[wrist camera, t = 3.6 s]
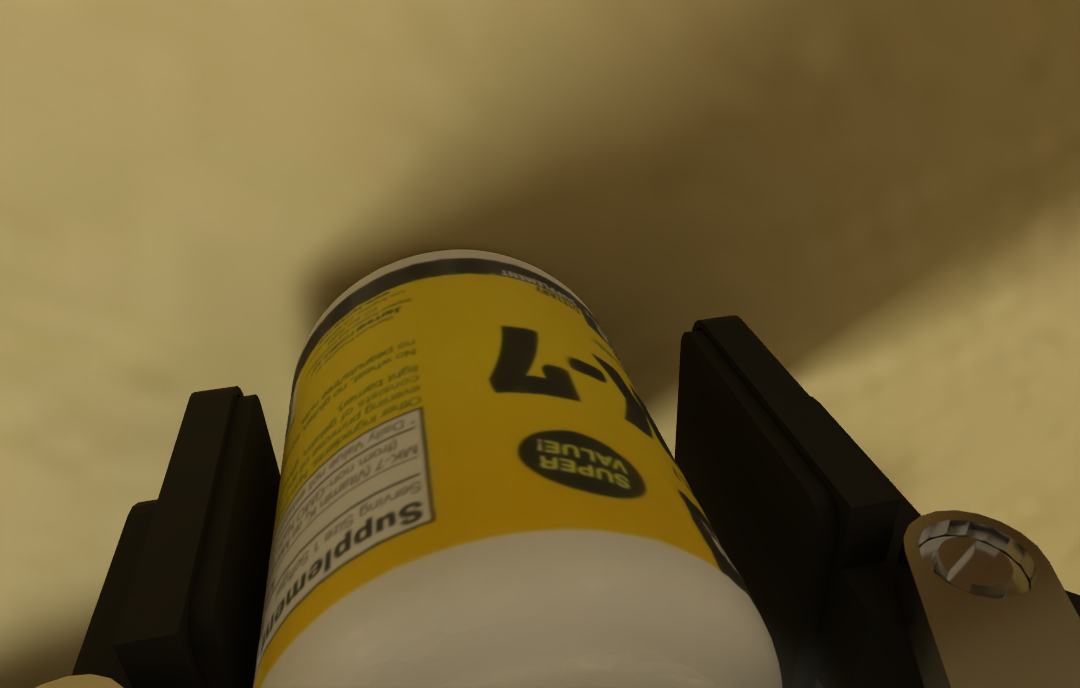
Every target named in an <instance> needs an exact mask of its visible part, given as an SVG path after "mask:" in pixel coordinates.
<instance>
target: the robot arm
mask: <svg viewBox="0 0 1080 688" xmlns="http://www.w3.org/2000/svg"><path fill="white" fill-rule="evenodd" d="M675 462H676V463H677V465H678V467H679V469H680V471H681V472H682V474H683V476H684V477H685V479H686V481H687V483H688V485H689V487H690V489H691V491H692V493H693V495H694V496H695V498H696V499H697V501H698V503H699V505H700V507H701V508H702V510H703V512H704V514H705V516H706V517H707V519H708V521H709V523H710V524H711V526H712V528H713V530H714V532H715V534H716V536H717V538H718V540H719V542H720V544H721V546H722V547H723V549H724V551H725V552H726V554H727V556H728V557H729V559H730V561H731V563H732V564H733V566H734V567H735V569H736V570H737V571H738V573H739V574H740V576H741V577H742V579H743V581H744V583H745V585H746V587H747V589H748V591H749V593H750V595H751V597H752V599H753V601H754V603H755V605H756V607H757V609H758V611H759V613H760V615H761V617H762V620H763V622H764V624H765V626H766V628H767V630H768V632H769V634H770V636H771V639H772V642H773V645H774V648H775V652H776V655H777V658H778V662H779V667H780V672H781V679H782V688H1080V595H1077V594H1074V593H1071V592H1069V591H1066V590H1064V588H1063V586H1062V584H1061V582H1060V580H1059V579H1058V577H1057V575H1056V573H1055V571H1054V569H1053V568H1052V566H1051V564H1050V562H1049V561H1048V559H1047V558H1046V557H1045V555H1044V554H1043V553H1042V551H1041V550H1040V549H1039V547H1038V546H1037V545H1035V544H1034V543H1033V542H1032V541H1031V540H1029V539H1028V538H1027V537H1026V536H1024V535H1023V534H1022V533H1021V532H1019V531H1017V530H1015V529H1013V528H1012V527H1010V526H1008V525H1006V524H1004V523H1002V522H1000V521H998V520H995V519H992V518H989V517H986V516H983V515H980V514H976V513H970V512H963V511H957V510H953V511H935V512H932V513H929V514H926V515H922V516H921V515H920V514H919V513H918V512H917V511H916V509H915V508H914V507H913V506H912V505H911V504H910V503H909V502H908V501H907V499H906V498H905V497H904V496H903V495H902V494H901V493H900V492H899V491H898V489H897V488H896V487H895V486H894V485H893V484H892V483H891V482H890V481H889V479H888V478H887V477H886V476H885V475H884V474H883V473H882V472H881V470H880V469H879V468H878V467H877V466H876V465H875V464H874V463H873V462H872V460H871V459H870V458H869V457H868V456H867V455H866V454H865V453H864V452H863V450H862V449H861V448H860V447H859V446H858V445H857V444H856V443H855V442H854V440H853V439H852V438H851V437H850V436H849V435H848V434H847V433H846V432H845V430H844V429H843V428H842V427H841V426H840V425H839V424H838V423H837V422H836V420H835V419H834V418H833V417H832V416H831V415H830V414H829V413H828V412H827V410H826V409H825V408H824V407H823V406H822V405H821V404H820V403H819V402H818V401H817V400H816V399H814V398H813V397H811V396H809V395H808V394H807V393H806V391H805V390H804V389H803V388H802V387H801V386H800V385H799V384H798V382H797V381H796V380H795V379H794V378H793V377H792V376H791V375H790V374H789V372H788V371H787V370H786V369H785V368H784V367H783V366H782V365H781V363H780V362H779V361H778V360H777V359H776V358H775V357H774V356H773V354H772V353H771V352H770V351H769V350H768V349H767V348H766V347H765V345H764V344H763V343H762V342H761V341H760V340H759V339H758V338H757V336H756V335H755V334H754V333H753V332H752V331H751V330H750V329H749V328H748V326H747V325H746V324H745V323H744V322H743V321H742V320H741V319H740V318H739V317H738V316H736V315H732V316H725V317H718V318H711V319H704V320H697V321H696V322H695V323H694V326H693V329H692V331H691V332H685V333H684V334H683V336H682V339H681V351H680V369H679V388H678V407H677V426H676V445H675ZM279 485H280V473H279V469H278V466H277V462H276V458H275V454H274V451H273V447H272V443H271V440H270V436H269V432H268V429H267V425H266V421H265V418H264V414H263V410H262V407H261V403H260V400H259V398H258V396H257V395H249V396H244V395H243V393H242V391H241V389H240V388H239V387H238V386H235V387H228V388H221V389H214V390H207V391H199V392H194V393H192V394H191V396H190V398H189V402H188V405H187V408H186V411H185V414H184V418H183V421H182V424H181V427H180V430H179V434H178V437H177V440H176V443H175V446H174V450H173V453H172V456H171V459H170V462H169V465H168V469H167V472H166V475H165V478H164V481H163V485H162V488H161V491H160V494H159V497H158V499H157V500H151V501H145V502H139V503H137V504H136V505H134V506H133V507H132V509H131V511H130V513H129V514H128V517H127V520H126V522H125V525H124V528H123V531H122V534H121V537H120V539H119V542H118V545H117V548H116V551H115V554H114V556H113V559H112V562H111V565H110V568H109V571H108V573H107V576H106V579H105V582H104V585H103V588H102V590H101V593H100V596H99V599H98V602H97V605H96V608H95V610H94V613H93V616H92V619H91V622H90V625H89V627H88V630H87V633H86V636H85V639H84V642H83V644H82V647H81V650H80V653H79V656H78V659H77V661H76V664H75V667H74V670H73V673H72V676H66V677H63V678H60V679H57V680H54V681H51V682H48V683H44V684H41V685H39V686H38V687H36V688H253V684H254V676H255V668H256V661H257V653H258V646H259V639H260V632H261V624H262V616H263V609H264V601H265V593H266V585H267V577H268V569H269V561H270V554H271V547H272V538H273V531H274V524H275V517H276V508H277V499H278V491H279Z"/></svg>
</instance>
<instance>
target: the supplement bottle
mask: <svg viewBox="0 0 1080 688" xmlns="http://www.w3.org/2000/svg"><path fill="white" fill-rule="evenodd" d="M253 688H782V679H781V672H780V667H779V662H778V658H777V655H776V652H775V648H774V645H773V642H772V639H771V636H770V634H769V632H768V630H767V628H766V626H765V624H764V622H763V620H762V617H761V615H760V613H759V611H758V609H757V607H756V605H755V603H754V601H753V599H752V597H751V595H750V593H749V591H748V589H747V587H746V585H745V583H744V581H743V579H742V577H741V576H740V574H739V573H738V571H737V570H736V569H735V567H734V566H733V564H732V563H731V561H730V559H729V557H728V556H727V554H726V552H725V551H724V549H723V547H722V546H721V544H720V542H719V540H718V538H717V536H716V534H715V532H714V530H713V528H712V526H711V524H710V523H709V521H708V519H707V517H706V516H705V514H704V512H703V510H702V508H701V507H700V505H699V503H698V501H697V499H696V498H695V496H694V495H693V493H692V491H691V489H690V487H689V485H688V483H687V481H686V479H685V477H684V476H683V474H682V472H681V471H680V469H679V467H678V465H677V463H676V462H675V460H674V458H673V456H672V454H671V452H670V450H669V449H668V447H667V445H666V443H665V441H664V440H663V438H662V436H661V434H660V432H659V431H658V429H657V427H656V425H655V423H654V422H653V420H652V418H651V417H650V415H649V413H648V411H647V409H646V407H645V405H644V404H643V402H642V401H641V399H640V398H639V396H638V394H637V392H636V390H635V388H634V386H633V384H632V382H631V381H630V379H629V377H628V376H627V374H626V373H625V371H624V369H623V367H622V365H621V364H620V361H619V359H618V357H617V355H616V353H615V352H614V350H613V348H612V346H611V345H610V343H609V341H608V339H607V337H606V336H605V334H604V332H603V330H602V329H601V327H600V325H599V323H598V322H597V320H596V319H595V318H594V316H593V315H592V313H591V312H590V311H589V309H588V308H587V307H586V305H585V304H584V303H583V302H582V301H581V300H580V299H579V298H578V296H576V295H575V294H574V293H573V292H572V291H571V290H570V289H569V288H567V287H566V286H565V285H564V284H562V283H561V282H560V281H558V280H557V279H555V278H554V277H552V276H550V275H549V274H547V273H545V272H544V271H542V270H540V269H539V268H537V267H534V266H532V265H530V264H528V263H526V262H523V261H520V260H517V259H514V258H512V257H508V256H505V255H502V254H497V253H492V252H487V251H479V250H465V249H455V250H444V251H435V252H429V253H424V254H419V255H415V256H411V257H408V258H405V259H402V260H399V261H396V262H393V263H391V264H389V265H386V266H384V267H382V268H380V269H378V270H376V271H374V272H372V273H371V274H369V275H367V276H366V277H364V278H362V279H361V280H359V281H358V282H356V283H355V284H354V285H352V286H351V287H350V288H349V289H347V290H346V291H345V292H344V293H343V294H341V295H340V296H339V297H338V298H337V299H336V300H335V301H334V302H333V303H332V304H331V305H330V306H329V308H328V309H327V310H326V311H325V312H324V313H323V314H322V316H321V317H320V319H319V320H318V322H317V323H316V324H315V326H314V327H313V329H312V331H311V332H310V334H309V336H308V338H307V340H306V342H305V344H304V346H303V349H302V351H301V353H300V356H299V359H298V362H297V366H296V370H295V374H294V379H293V385H292V393H291V400H290V406H289V415H288V422H287V430H286V435H285V445H284V454H283V461H282V468H281V477H280V485H279V491H278V499H277V508H276V517H275V524H274V531H273V538H272V547H271V554H270V561H269V569H268V577H267V585H266V593H265V601H264V609H263V616H262V624H261V632H260V639H259V646H258V653H257V661H256V668H255V676H254V684H253Z"/></svg>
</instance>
